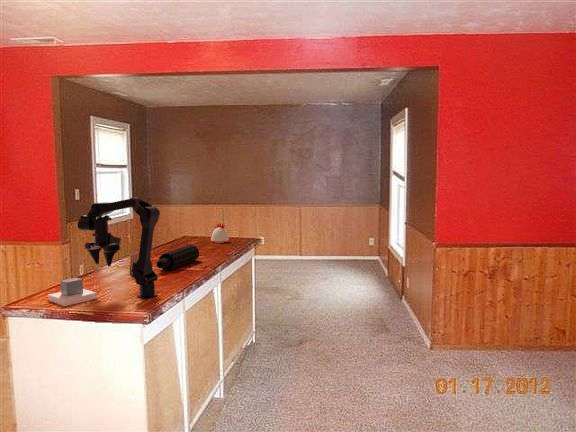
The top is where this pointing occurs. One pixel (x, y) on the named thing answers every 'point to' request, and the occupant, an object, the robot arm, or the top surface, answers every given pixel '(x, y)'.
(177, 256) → the roller
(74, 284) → the block
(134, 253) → the ammunition clip
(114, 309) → the top surface
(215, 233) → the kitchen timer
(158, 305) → the top surface
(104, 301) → the top surface
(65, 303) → the board
